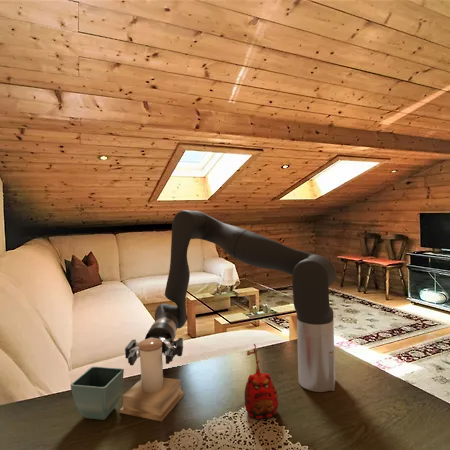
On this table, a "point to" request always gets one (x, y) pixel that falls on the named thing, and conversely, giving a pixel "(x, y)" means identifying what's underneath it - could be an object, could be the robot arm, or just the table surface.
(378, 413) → the table surface
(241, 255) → the robot arm
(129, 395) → the oak plinth
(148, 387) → the cream canister
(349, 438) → the table surface
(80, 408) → the flower pot
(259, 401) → the red clay folk toy
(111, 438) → the table surface
